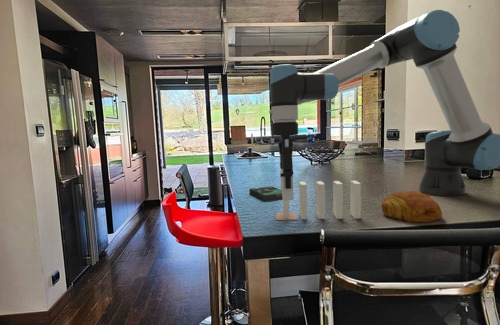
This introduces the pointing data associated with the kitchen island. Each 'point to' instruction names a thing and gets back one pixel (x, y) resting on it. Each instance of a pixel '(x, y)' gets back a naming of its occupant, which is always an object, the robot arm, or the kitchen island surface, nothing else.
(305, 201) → the domino
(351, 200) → the domino
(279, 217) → the plate
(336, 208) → the domino
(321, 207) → the domino
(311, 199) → the kitchen island surface
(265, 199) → the disk drive
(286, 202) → the domino
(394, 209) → the croissant
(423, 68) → the robot arm
